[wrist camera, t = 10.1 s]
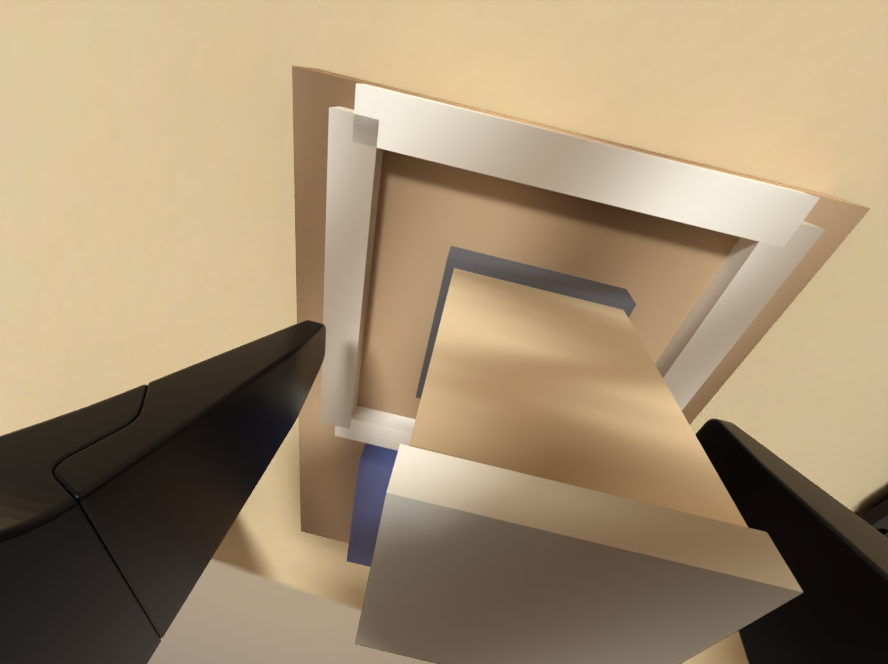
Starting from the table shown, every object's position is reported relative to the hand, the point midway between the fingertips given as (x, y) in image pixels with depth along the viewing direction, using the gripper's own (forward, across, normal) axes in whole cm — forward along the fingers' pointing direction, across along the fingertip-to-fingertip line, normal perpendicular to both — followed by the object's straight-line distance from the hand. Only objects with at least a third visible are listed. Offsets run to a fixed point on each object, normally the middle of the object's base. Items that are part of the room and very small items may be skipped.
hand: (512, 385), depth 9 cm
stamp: (+2, 0, 0) cm, 2 cm away
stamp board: (+3, 0, +4) cm, 5 cm away
